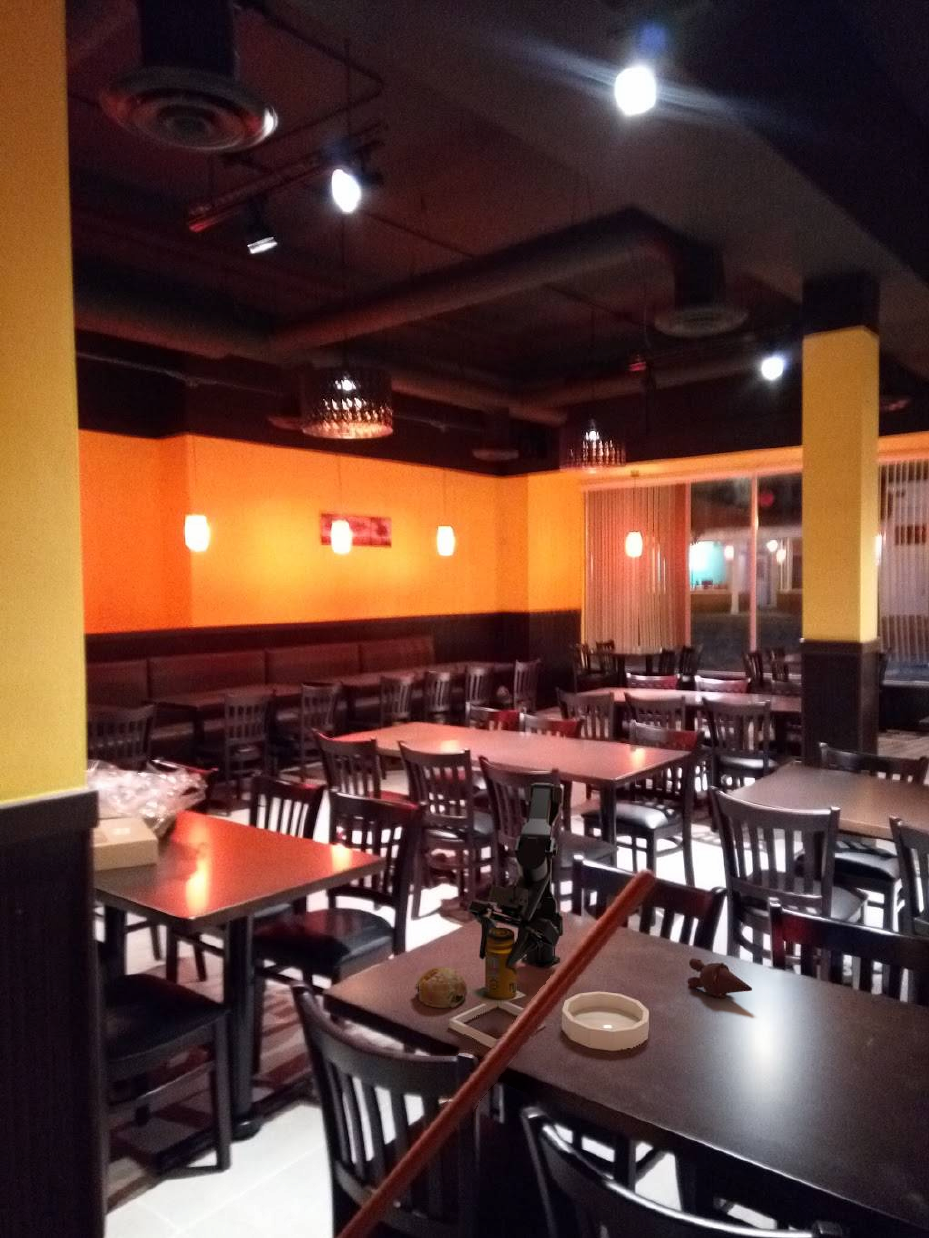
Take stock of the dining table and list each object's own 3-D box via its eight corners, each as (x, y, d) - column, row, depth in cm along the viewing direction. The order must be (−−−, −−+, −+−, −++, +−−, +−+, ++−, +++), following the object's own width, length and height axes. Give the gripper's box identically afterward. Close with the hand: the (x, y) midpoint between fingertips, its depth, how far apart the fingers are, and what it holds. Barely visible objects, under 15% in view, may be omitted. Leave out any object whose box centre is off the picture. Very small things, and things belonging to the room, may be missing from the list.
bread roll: (437, 1029, 176) (451, 998, 174) (402, 994, 182) (415, 963, 180) (467, 1011, 184) (481, 981, 182) (432, 978, 190) (445, 948, 188)
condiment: (526, 996, 170) (525, 933, 169) (489, 1007, 165) (489, 942, 165) (503, 982, 176) (503, 922, 176) (467, 993, 171) (467, 930, 171)
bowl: (595, 1001, 181) (596, 984, 181) (664, 1028, 170) (664, 1010, 170) (545, 1028, 170) (546, 1010, 170) (616, 1059, 158) (616, 1039, 158)
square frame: (497, 1004, 180) (497, 996, 179) (545, 1025, 171) (545, 1017, 171) (448, 1027, 170) (448, 1019, 170) (497, 1051, 161) (497, 1042, 161)
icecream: (762, 970, 182) (700, 954, 193) (742, 970, 177) (679, 954, 188) (760, 1006, 180) (697, 988, 192) (740, 1007, 176) (676, 988, 187)
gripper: (473, 858, 178) (436, 929, 170) (551, 878, 167) (516, 955, 158) (497, 887, 185) (462, 957, 177) (573, 908, 173) (540, 983, 165)
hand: (493, 962), depth 169 cm, fingers closed on condiment, 6 cm apart
